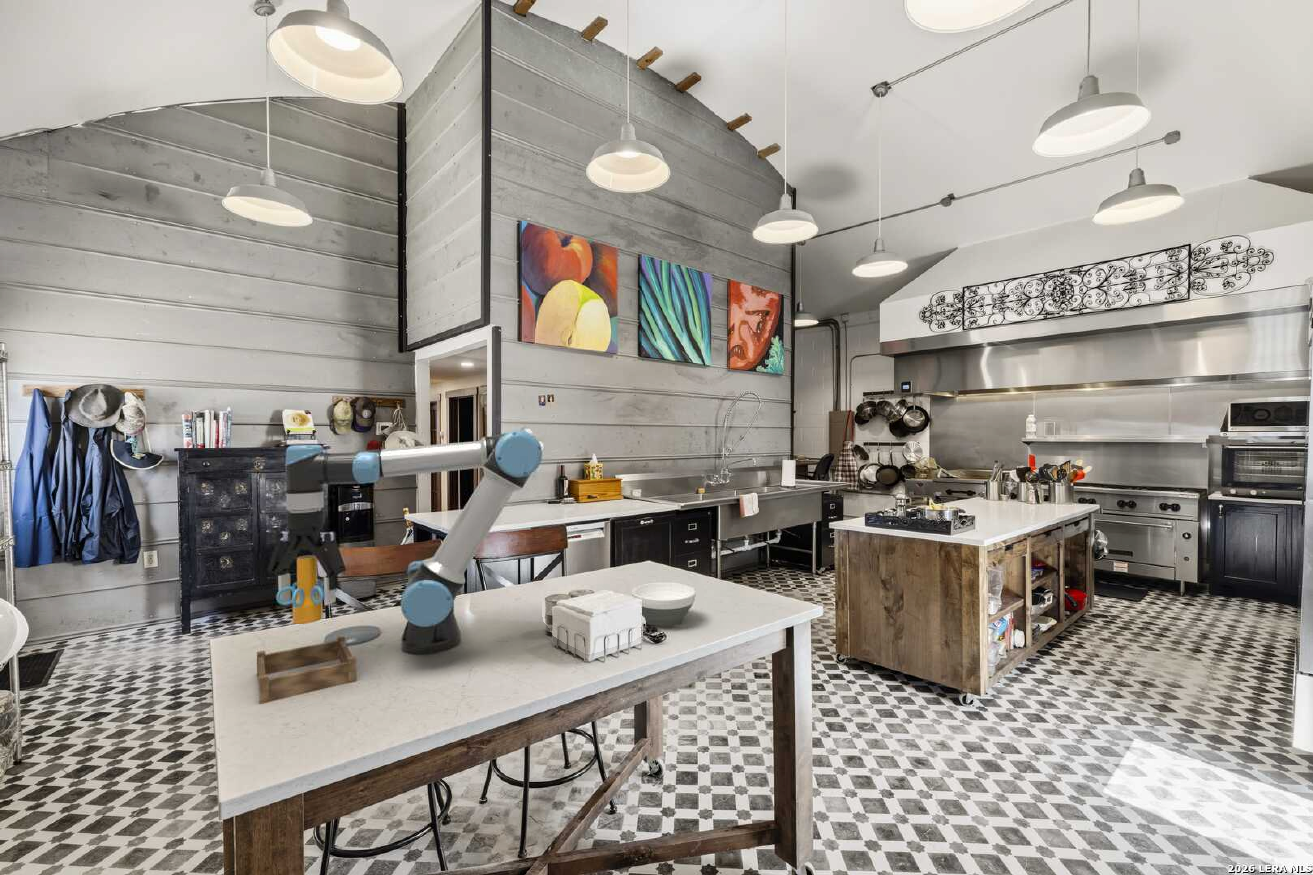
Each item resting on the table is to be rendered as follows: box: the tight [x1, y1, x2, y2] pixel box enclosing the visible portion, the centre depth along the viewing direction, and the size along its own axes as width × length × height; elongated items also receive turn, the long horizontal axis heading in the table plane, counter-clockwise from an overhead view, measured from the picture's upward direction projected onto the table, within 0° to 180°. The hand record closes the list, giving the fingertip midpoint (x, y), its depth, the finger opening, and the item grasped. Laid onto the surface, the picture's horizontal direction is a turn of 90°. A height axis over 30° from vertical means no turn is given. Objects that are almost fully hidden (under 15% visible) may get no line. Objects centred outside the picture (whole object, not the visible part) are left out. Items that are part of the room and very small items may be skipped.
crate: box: [256, 635, 357, 705], centre depth 132 cm, size 18×18×5 cm
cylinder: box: [275, 554, 338, 625], centre depth 132 cm, size 12×10×15 cm
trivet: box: [324, 625, 381, 647], centre depth 159 cm, size 14×14×1 cm
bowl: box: [631, 582, 697, 628], centre depth 172 cm, size 20×20×10 cm
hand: (307, 602), depth 132 cm, fingers closed on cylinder, 11 cm apart
